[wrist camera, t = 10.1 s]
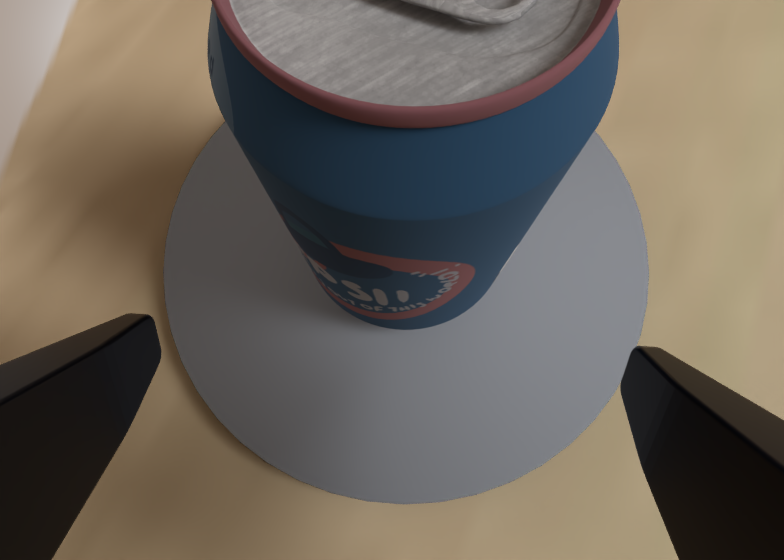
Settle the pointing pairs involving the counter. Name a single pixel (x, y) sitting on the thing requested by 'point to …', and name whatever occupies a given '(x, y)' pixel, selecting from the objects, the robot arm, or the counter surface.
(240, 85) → the soda can
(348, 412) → the rubber mat
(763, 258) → the counter surface
